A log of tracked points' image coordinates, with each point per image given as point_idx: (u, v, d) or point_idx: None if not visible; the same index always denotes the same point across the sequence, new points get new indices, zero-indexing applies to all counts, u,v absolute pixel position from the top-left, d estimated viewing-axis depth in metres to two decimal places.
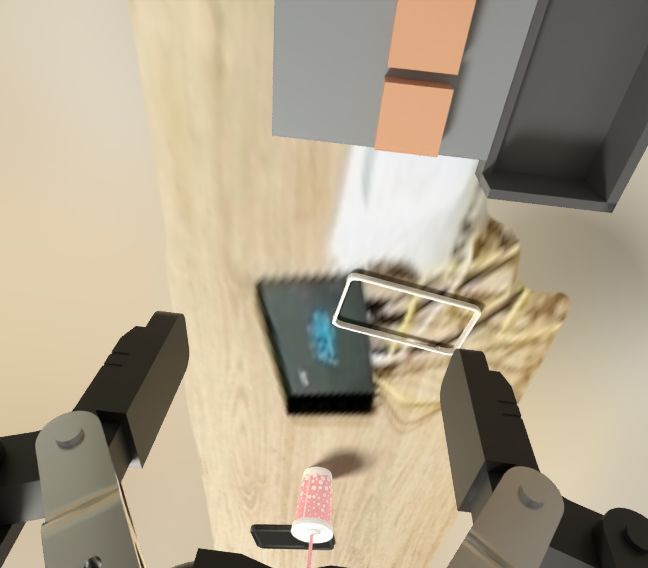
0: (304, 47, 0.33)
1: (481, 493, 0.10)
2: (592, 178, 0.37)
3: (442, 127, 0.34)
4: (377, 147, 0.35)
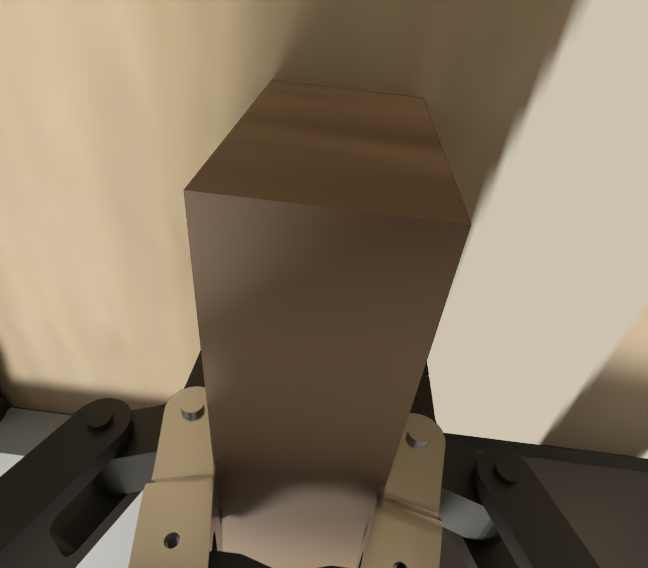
0: None
1: None
2: None
3: None
4: None
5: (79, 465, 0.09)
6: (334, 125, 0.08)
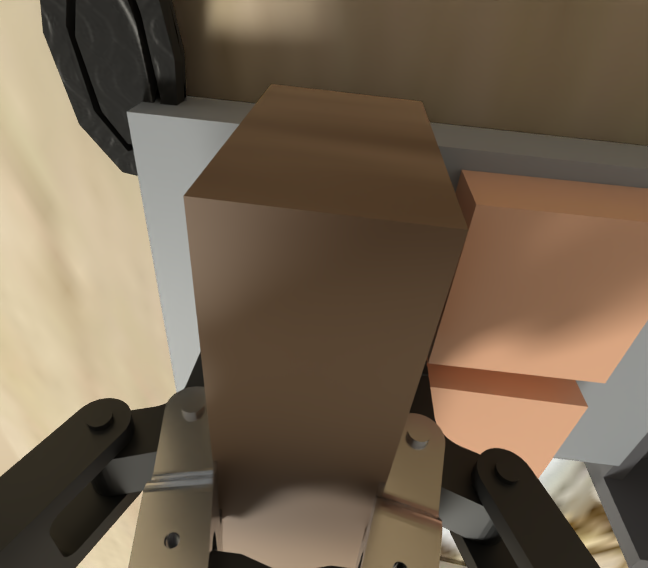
0: None
1: None
2: None
3: (547, 457, 0.15)
4: None
5: (79, 465, 0.09)
6: (332, 130, 0.08)
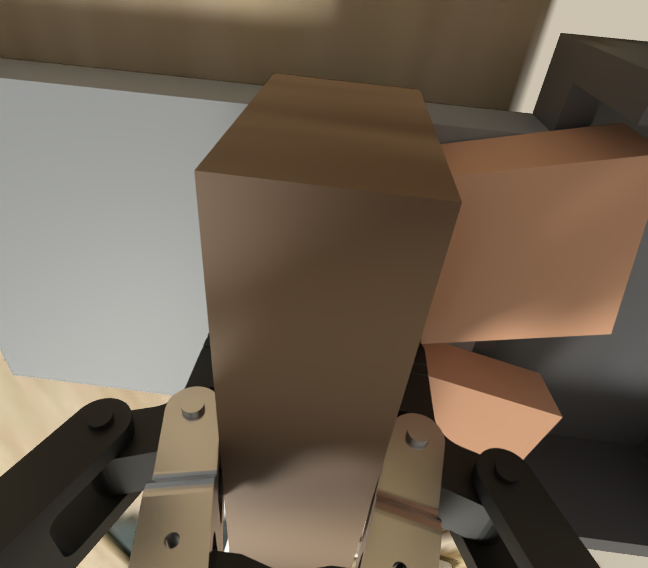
0: (9, 243, 0.14)
1: None
2: None
3: None
4: None
5: (79, 465, 0.09)
6: (333, 115, 0.08)
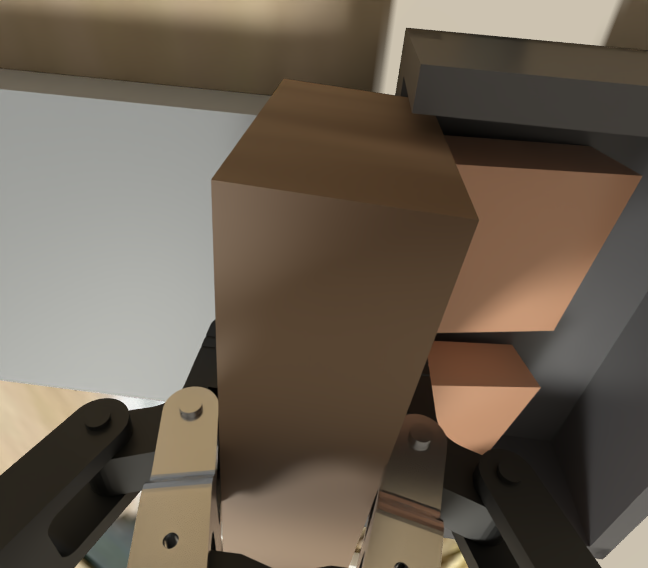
0: None
1: None
2: (564, 453, 0.18)
3: (500, 433, 0.17)
4: None
5: (77, 465, 0.09)
6: (345, 124, 0.08)
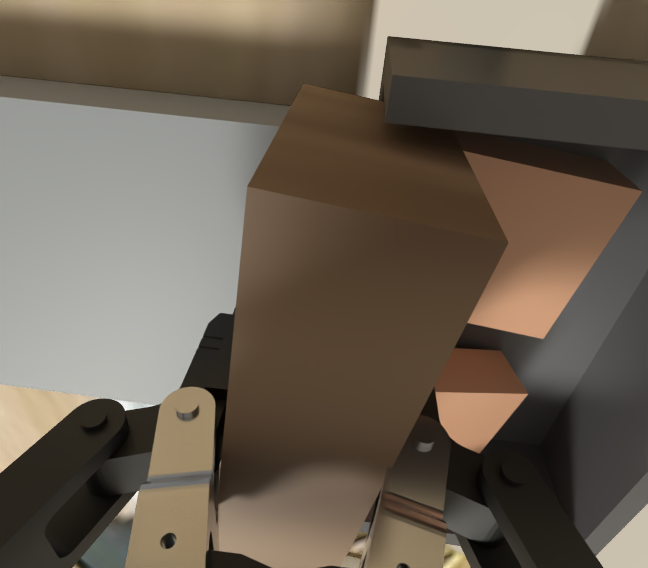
0: None
1: None
2: (551, 458, 0.19)
3: (488, 438, 0.17)
4: None
5: (74, 466, 0.09)
6: (370, 135, 0.08)
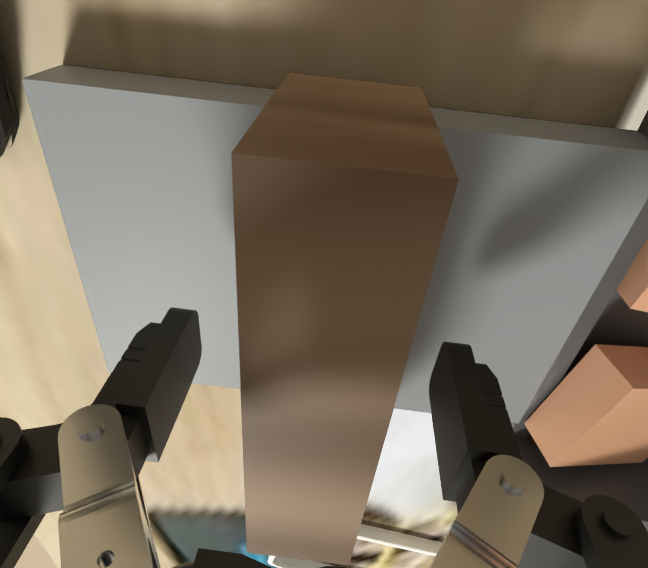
0: (134, 246, 0.15)
1: (465, 482, 0.10)
2: None
3: None
4: (557, 463, 0.18)
5: None
6: (345, 109, 0.09)
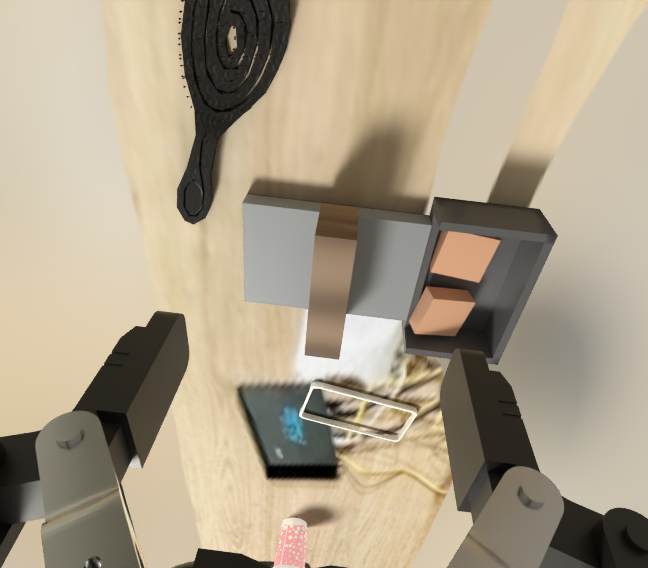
0: (265, 251, 0.45)
1: (481, 493, 0.10)
2: (487, 332, 0.49)
3: (463, 321, 0.47)
4: (417, 332, 0.47)
5: None
6: (336, 219, 0.39)
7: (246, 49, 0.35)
